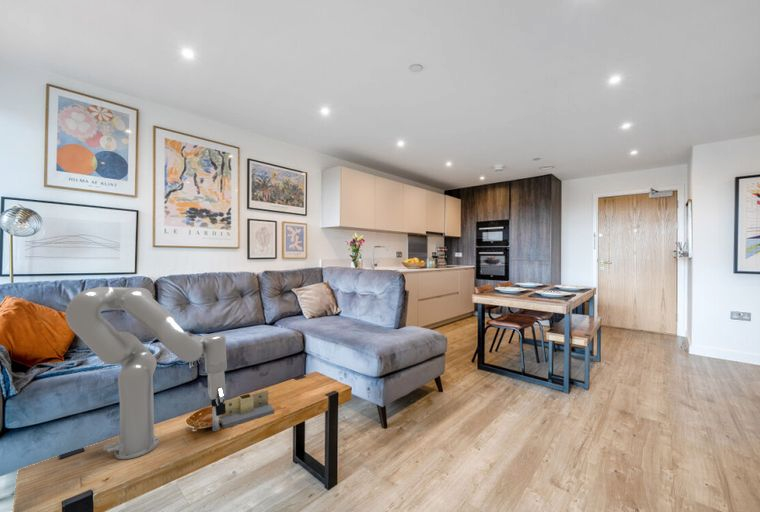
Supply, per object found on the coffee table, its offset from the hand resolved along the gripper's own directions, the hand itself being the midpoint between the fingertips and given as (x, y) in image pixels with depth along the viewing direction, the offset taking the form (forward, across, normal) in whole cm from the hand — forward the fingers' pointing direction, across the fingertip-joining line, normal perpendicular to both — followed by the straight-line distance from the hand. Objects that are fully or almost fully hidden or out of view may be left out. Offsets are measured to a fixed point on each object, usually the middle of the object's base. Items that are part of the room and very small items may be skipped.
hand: (218, 409), depth 125 cm
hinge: (+6, -6, +11) cm, 14 cm away
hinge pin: (+8, 0, -1) cm, 8 cm away
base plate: (+8, -6, +11) cm, 15 cm away
